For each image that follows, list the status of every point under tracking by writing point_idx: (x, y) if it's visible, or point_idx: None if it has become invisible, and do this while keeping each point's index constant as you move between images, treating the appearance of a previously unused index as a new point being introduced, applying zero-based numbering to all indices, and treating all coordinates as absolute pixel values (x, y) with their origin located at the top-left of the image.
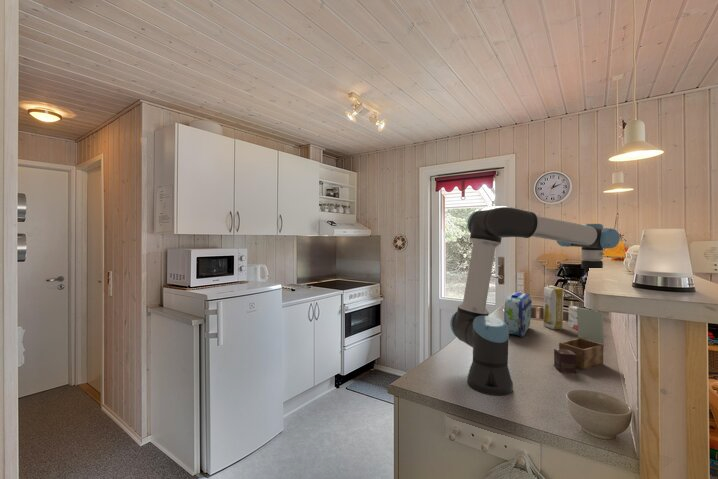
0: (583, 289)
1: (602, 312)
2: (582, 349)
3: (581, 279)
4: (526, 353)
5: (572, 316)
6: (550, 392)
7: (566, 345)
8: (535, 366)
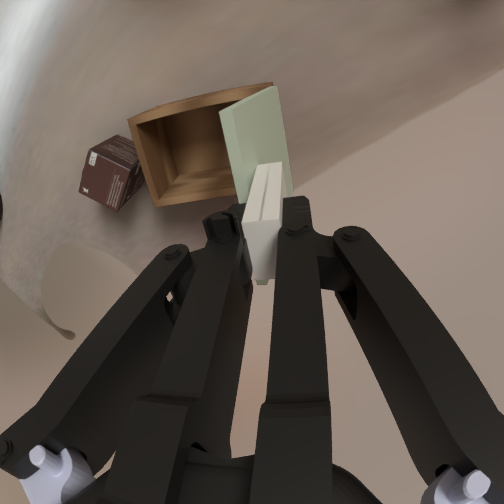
0: (103, 333)
1: (261, 283)
2: (154, 199)
3: (12, 439)
4: (110, 29)
5: None
6: (44, 239)
7: (135, 146)
8: (71, 128)
